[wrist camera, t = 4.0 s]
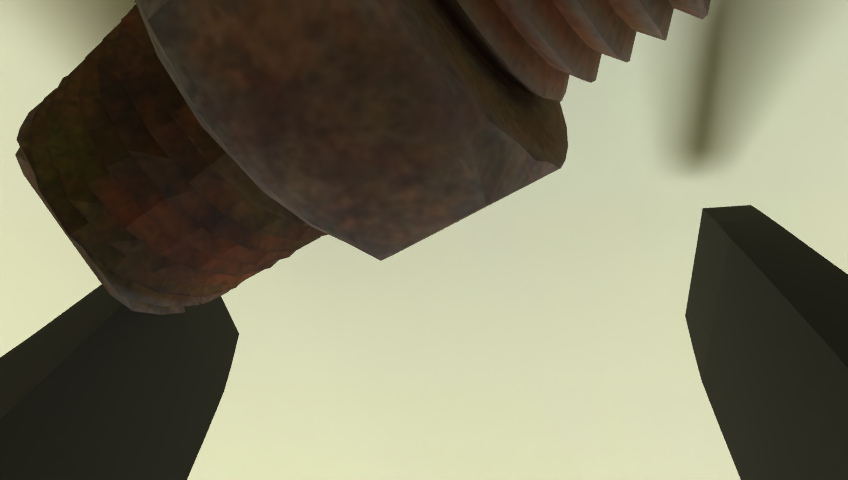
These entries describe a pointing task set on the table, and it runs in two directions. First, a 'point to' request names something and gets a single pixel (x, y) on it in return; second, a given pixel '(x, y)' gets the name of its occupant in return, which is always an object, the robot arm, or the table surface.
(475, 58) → the bolt
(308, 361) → the table surface
